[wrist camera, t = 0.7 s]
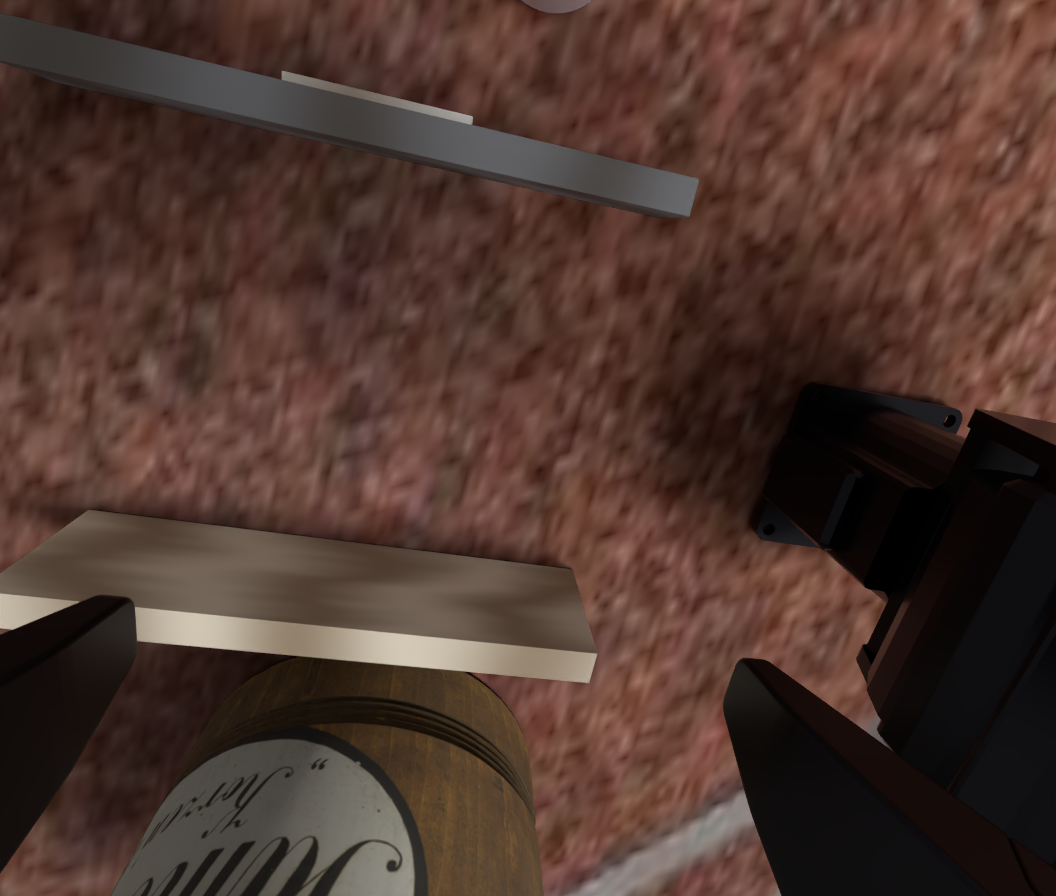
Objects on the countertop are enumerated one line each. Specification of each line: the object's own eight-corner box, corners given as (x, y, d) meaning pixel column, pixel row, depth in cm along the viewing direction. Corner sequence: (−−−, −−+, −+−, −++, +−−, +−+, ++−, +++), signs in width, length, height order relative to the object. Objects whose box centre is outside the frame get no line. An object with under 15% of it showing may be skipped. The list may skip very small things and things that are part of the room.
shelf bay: (673, 175, 18) (741, 156, 14) (566, 594, 24) (588, 682, 19) (56, 29, 16) (-120, -57, 11) (90, 538, 21) (-19, 626, 16)
